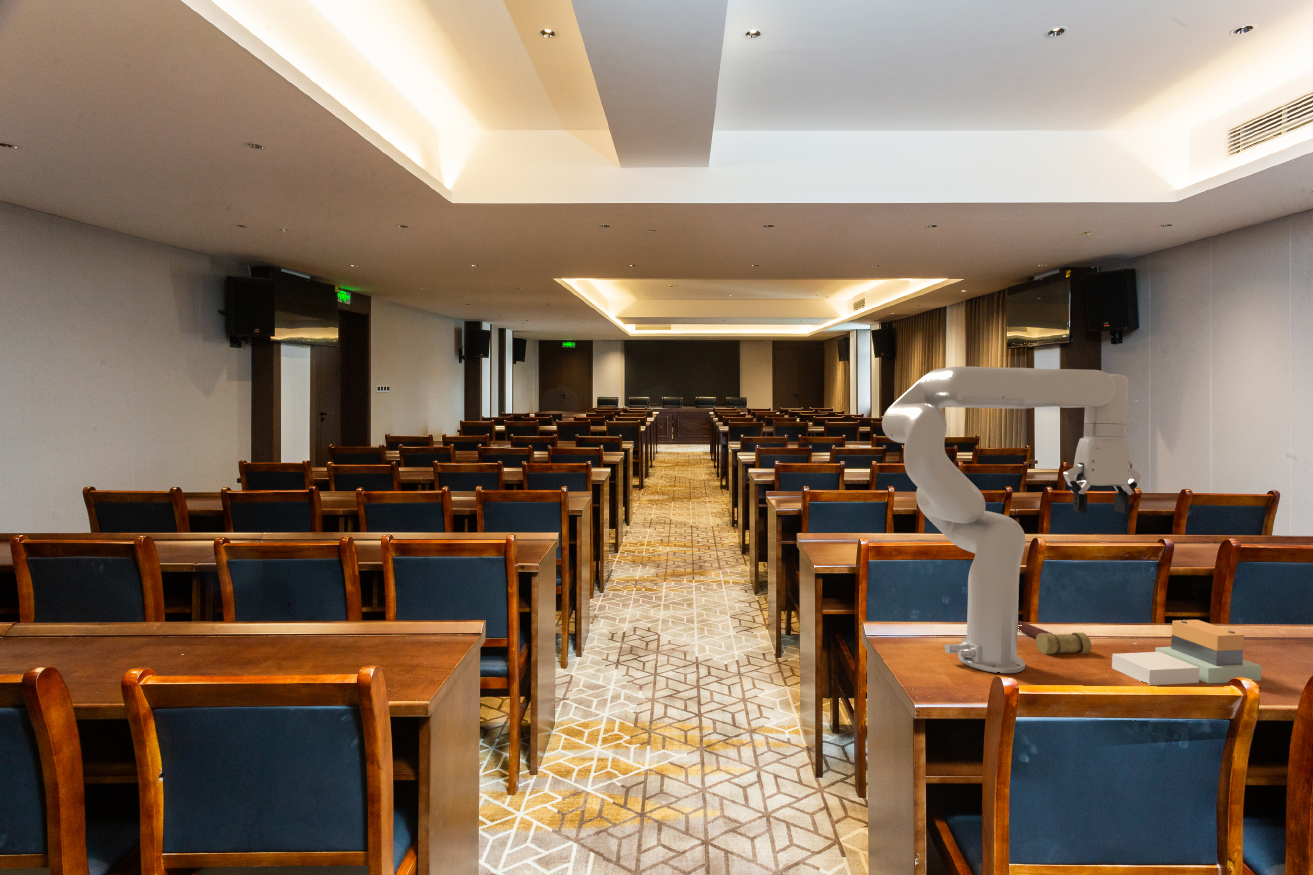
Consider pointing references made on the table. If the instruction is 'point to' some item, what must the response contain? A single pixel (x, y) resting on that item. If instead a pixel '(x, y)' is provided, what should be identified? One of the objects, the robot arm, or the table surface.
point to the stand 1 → (1155, 668)
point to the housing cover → (1208, 635)
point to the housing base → (1207, 652)
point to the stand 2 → (1216, 668)
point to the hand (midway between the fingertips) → (1100, 512)
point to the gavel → (1057, 640)
